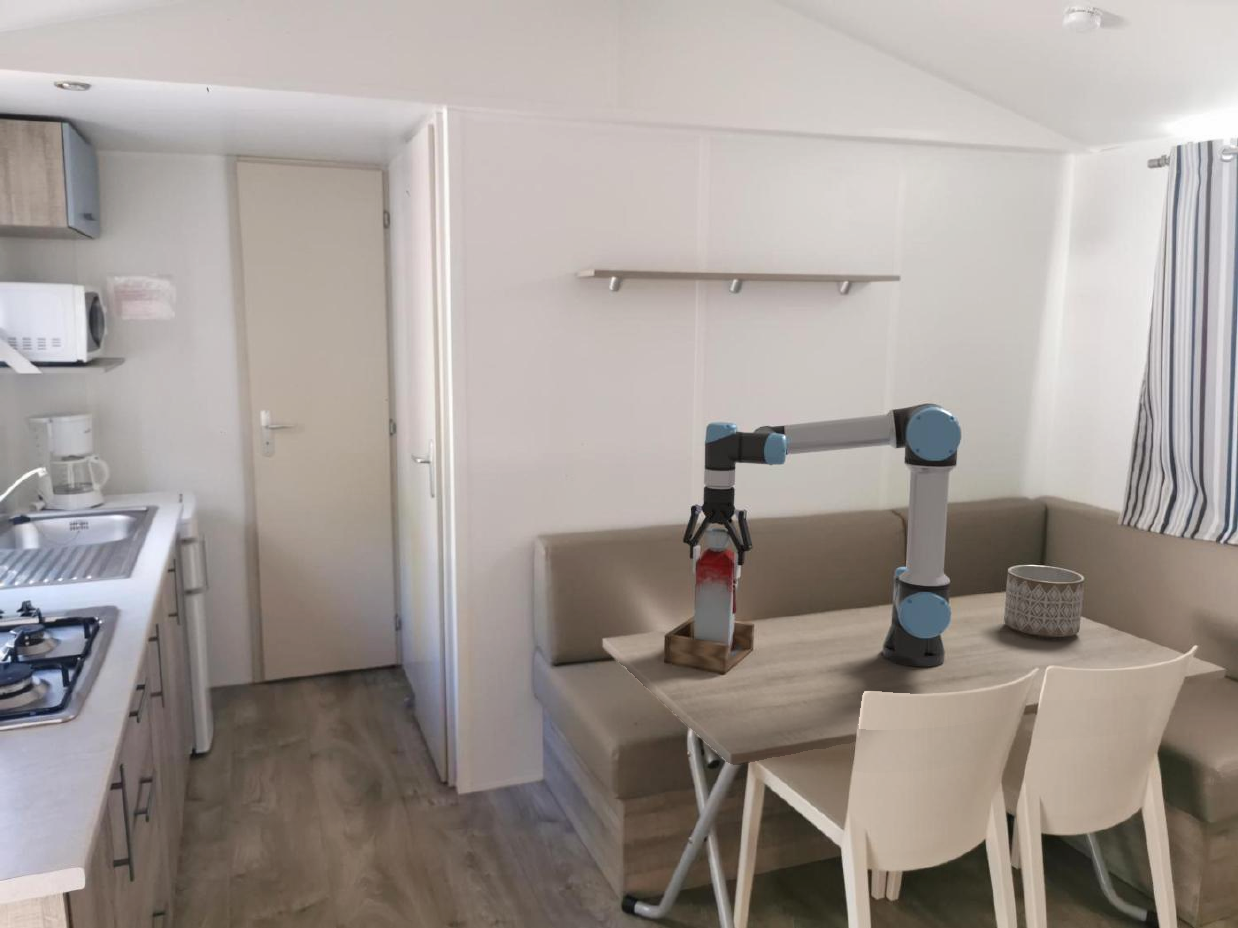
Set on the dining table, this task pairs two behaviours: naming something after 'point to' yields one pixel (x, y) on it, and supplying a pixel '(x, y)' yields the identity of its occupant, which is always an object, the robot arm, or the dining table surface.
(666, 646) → the wooden tray box
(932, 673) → the dining table surface
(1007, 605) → the planter
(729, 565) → the bottle
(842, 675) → the dining table surface
